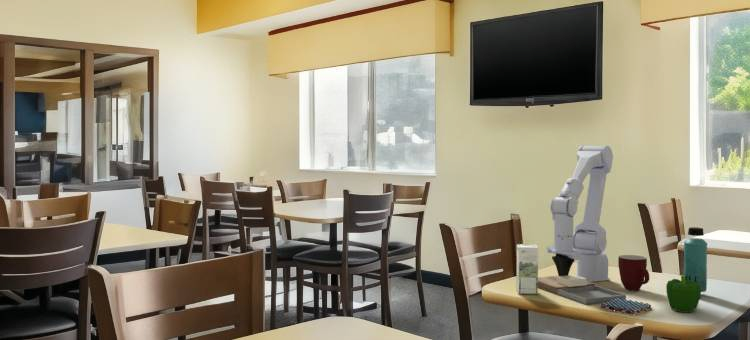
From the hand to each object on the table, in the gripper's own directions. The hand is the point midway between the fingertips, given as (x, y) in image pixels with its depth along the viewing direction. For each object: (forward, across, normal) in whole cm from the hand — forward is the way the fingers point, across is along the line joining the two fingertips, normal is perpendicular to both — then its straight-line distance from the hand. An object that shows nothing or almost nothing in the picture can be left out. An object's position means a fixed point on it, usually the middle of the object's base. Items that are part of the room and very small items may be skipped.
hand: (563, 279), depth 205 cm
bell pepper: (+3, +34, +13) cm, 37 cm away
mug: (+3, +11, +18) cm, 21 cm away
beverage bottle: (+3, +22, +30) cm, 37 cm away
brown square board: (+3, -1, 0) cm, 3 cm away
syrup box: (+3, +1, -14) cm, 14 cm away
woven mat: (+3, +27, 0) cm, 27 cm away
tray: (+3, +13, 0) cm, 13 cm away
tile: (+1, +4, 0) cm, 4 cm away
